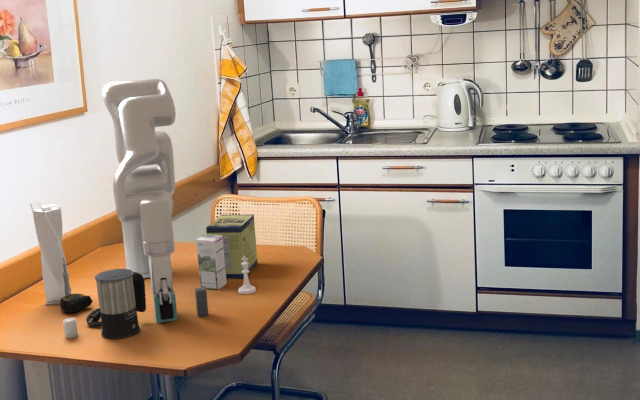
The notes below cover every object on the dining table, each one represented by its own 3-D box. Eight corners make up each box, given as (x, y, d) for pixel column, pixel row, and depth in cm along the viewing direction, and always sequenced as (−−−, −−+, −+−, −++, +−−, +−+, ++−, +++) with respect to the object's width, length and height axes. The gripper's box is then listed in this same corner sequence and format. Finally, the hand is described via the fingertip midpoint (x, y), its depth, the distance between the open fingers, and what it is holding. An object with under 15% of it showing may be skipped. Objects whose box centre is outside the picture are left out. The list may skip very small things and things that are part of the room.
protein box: (258, 263, 249) (254, 213, 245) (244, 279, 234) (240, 226, 230) (225, 263, 251) (221, 214, 247) (209, 279, 236) (205, 227, 232)
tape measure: (73, 316, 211) (71, 302, 211) (55, 312, 215) (54, 299, 214) (93, 308, 217) (91, 294, 216) (76, 304, 221) (74, 291, 220)
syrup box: (227, 283, 231) (223, 234, 228) (218, 290, 225) (213, 239, 222) (209, 282, 233) (204, 233, 229) (199, 289, 227) (195, 239, 224)
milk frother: (130, 340, 193) (124, 280, 190) (69, 339, 196) (61, 280, 192) (153, 318, 206) (147, 262, 203) (95, 317, 209) (88, 262, 206)
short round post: (65, 334, 199) (63, 319, 198) (78, 332, 199) (76, 317, 199) (65, 338, 196) (62, 323, 195) (77, 337, 197) (75, 321, 196)
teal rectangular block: (155, 315, 208) (152, 291, 207) (175, 312, 209) (173, 288, 208) (156, 322, 203) (154, 297, 202) (177, 319, 204) (175, 294, 203)
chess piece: (253, 294, 220) (250, 258, 218) (235, 293, 221) (232, 258, 219) (258, 288, 225) (255, 253, 223) (241, 288, 226) (238, 253, 224)
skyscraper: (40, 306, 220) (26, 205, 214) (45, 296, 228) (32, 199, 222) (72, 302, 222) (59, 202, 216) (76, 293, 229) (63, 196, 223)
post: (197, 314, 208) (194, 288, 206) (207, 312, 208) (204, 286, 207) (198, 317, 205) (195, 291, 204) (208, 316, 206) (206, 289, 204)
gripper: (141, 240, 209) (148, 304, 213) (145, 257, 193) (153, 327, 197) (170, 236, 211) (177, 300, 215) (177, 253, 195) (184, 322, 199)
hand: (165, 312), depth 206 cm, fingers open, 8 cm apart
